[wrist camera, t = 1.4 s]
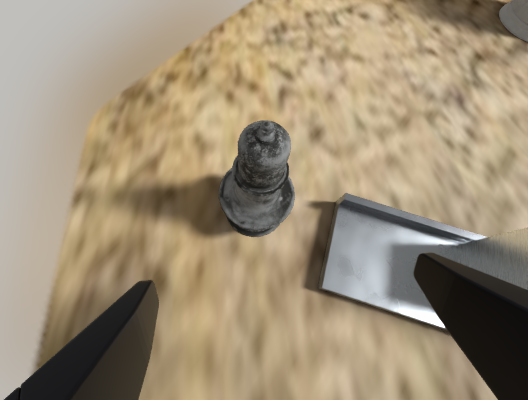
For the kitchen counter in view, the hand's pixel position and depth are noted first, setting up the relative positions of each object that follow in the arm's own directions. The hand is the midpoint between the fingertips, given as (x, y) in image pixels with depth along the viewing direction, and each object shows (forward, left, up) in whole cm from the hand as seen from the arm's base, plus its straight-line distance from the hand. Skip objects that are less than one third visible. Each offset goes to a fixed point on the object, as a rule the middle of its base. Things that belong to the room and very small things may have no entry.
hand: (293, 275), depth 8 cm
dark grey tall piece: (+6, +3, -13) cm, 15 cm away
